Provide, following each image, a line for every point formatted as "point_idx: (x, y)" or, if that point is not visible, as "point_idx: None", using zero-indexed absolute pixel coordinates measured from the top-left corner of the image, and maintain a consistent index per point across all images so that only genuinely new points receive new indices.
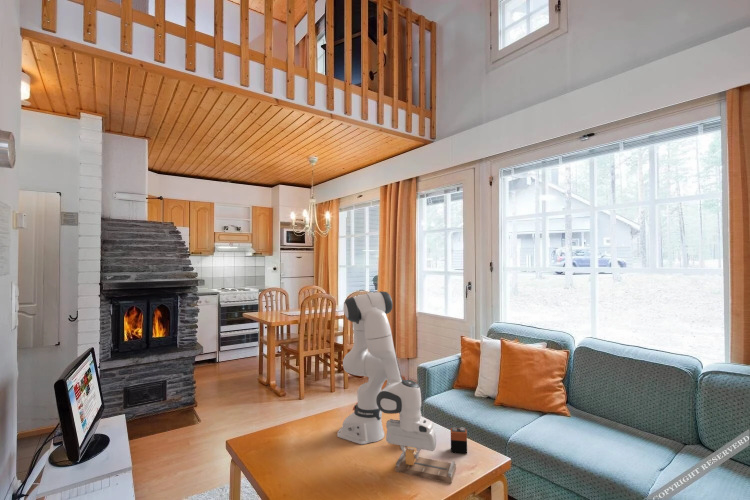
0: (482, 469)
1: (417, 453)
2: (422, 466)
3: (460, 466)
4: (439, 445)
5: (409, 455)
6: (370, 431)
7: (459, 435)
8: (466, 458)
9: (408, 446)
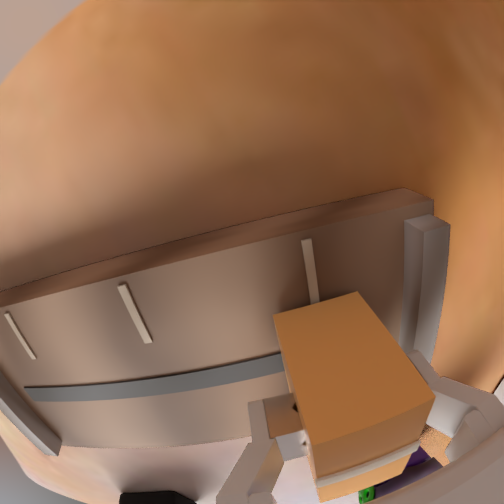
0: (11, 439)
1: (253, 459)
2: (182, 356)
3: None
4: None
5: (353, 383)
6: None
7: None
8: (100, 479)
9: (421, 486)
